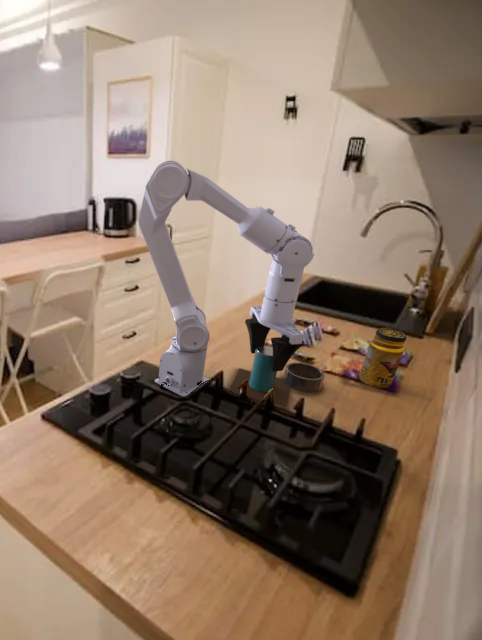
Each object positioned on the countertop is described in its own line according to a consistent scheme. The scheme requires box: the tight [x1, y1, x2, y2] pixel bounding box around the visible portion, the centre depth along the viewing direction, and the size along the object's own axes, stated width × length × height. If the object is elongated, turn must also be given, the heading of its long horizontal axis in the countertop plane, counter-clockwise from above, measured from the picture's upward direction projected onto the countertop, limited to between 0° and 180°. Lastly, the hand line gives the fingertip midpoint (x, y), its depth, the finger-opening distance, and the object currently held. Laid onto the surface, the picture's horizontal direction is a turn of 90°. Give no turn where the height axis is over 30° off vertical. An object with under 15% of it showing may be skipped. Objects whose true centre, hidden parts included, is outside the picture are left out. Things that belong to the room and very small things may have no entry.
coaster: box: [228, 368, 291, 408], centre depth 85 cm, size 11×11×1 cm
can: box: [249, 345, 278, 392], centre depth 83 cm, size 5×5×8 cm
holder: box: [282, 361, 326, 393], centre depth 86 cm, size 7×7×4 cm
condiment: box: [358, 327, 407, 389], centre depth 86 cm, size 7×8×12 cm
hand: (265, 361), depth 82 cm, fingers open, 7 cm apart
